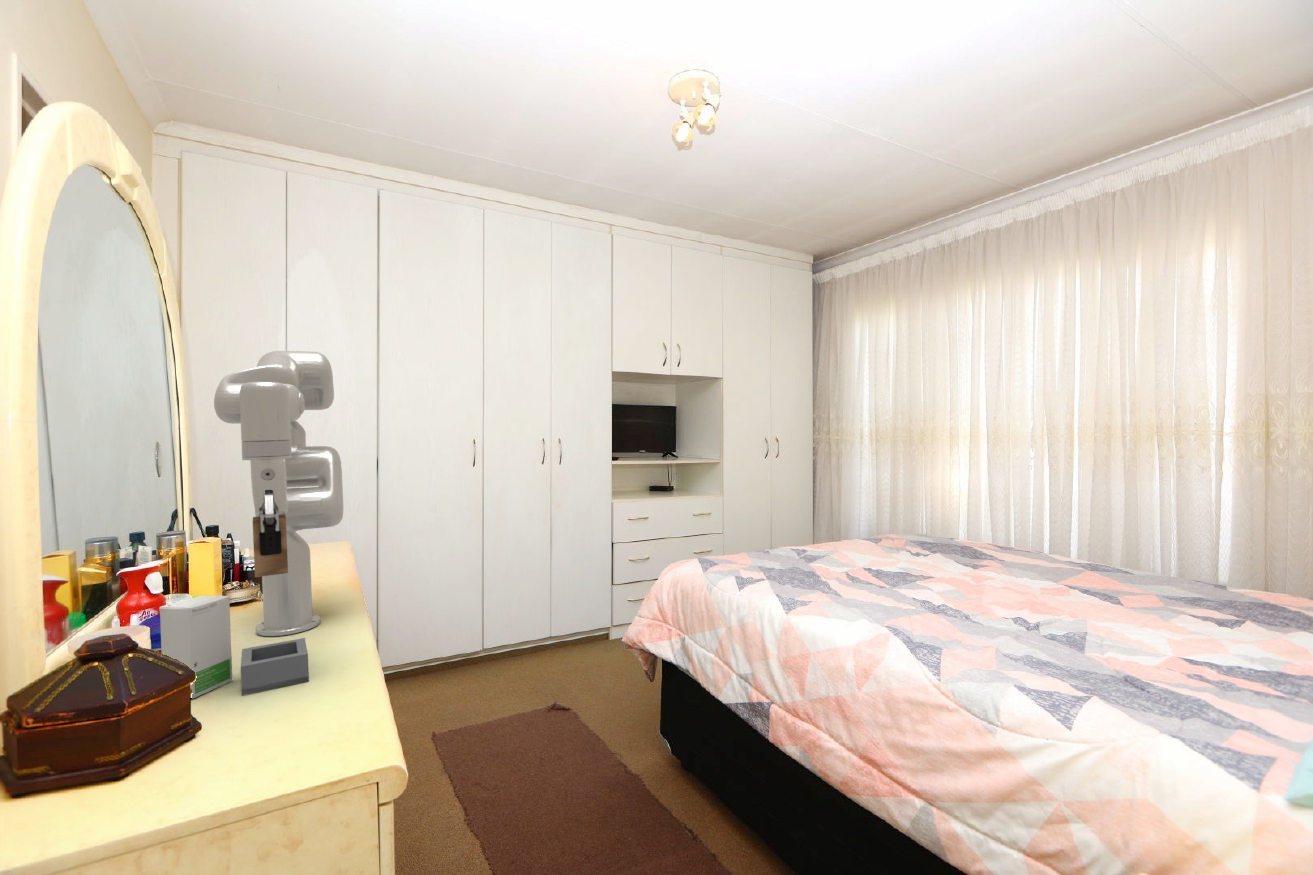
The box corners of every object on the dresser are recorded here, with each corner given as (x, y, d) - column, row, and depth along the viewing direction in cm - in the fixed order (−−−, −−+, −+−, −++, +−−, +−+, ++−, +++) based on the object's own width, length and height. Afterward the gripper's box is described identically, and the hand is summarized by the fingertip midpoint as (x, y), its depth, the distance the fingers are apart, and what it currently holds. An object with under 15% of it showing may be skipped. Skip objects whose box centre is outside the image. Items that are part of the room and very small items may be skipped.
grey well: (243, 675, 114) (242, 648, 113) (305, 663, 119) (304, 637, 119) (241, 695, 105) (240, 666, 105) (308, 681, 110) (307, 653, 110)
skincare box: (191, 700, 104) (187, 608, 103) (159, 698, 105) (155, 607, 105) (235, 680, 112) (231, 594, 111) (204, 677, 113) (201, 593, 113)
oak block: (287, 567, 115) (285, 514, 115) (288, 572, 111) (285, 517, 110) (255, 571, 112) (253, 516, 112) (254, 577, 108) (252, 520, 108)
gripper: (293, 451, 106) (297, 557, 106) (289, 448, 120) (293, 541, 121) (240, 453, 102) (244, 563, 102) (243, 450, 116) (247, 546, 117)
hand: (270, 550), depth 111 cm, fingers closed on oak block, 5 cm apart
